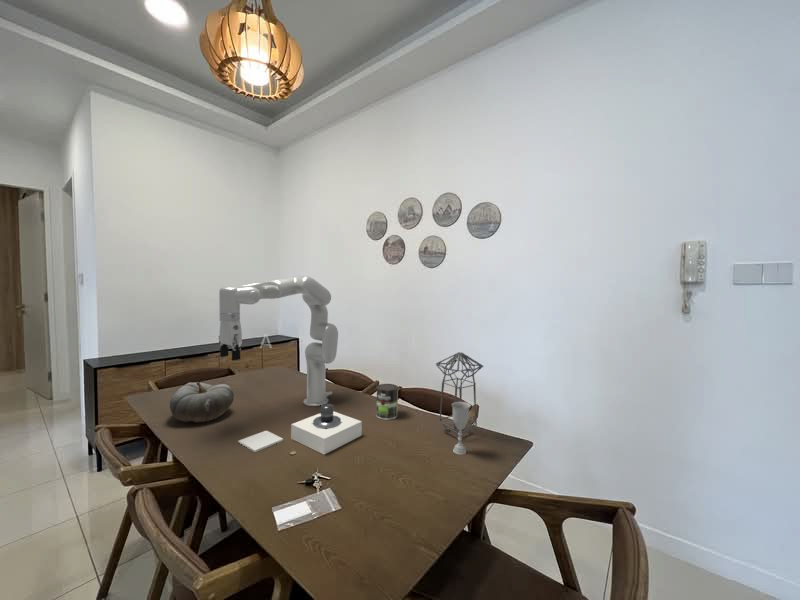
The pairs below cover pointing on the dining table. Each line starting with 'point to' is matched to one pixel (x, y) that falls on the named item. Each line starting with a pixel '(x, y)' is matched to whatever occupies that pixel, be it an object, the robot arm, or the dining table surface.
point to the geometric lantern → (459, 356)
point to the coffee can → (387, 401)
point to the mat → (260, 441)
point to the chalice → (460, 423)
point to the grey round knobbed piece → (326, 418)
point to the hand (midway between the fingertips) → (230, 358)
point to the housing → (326, 433)
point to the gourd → (201, 402)
